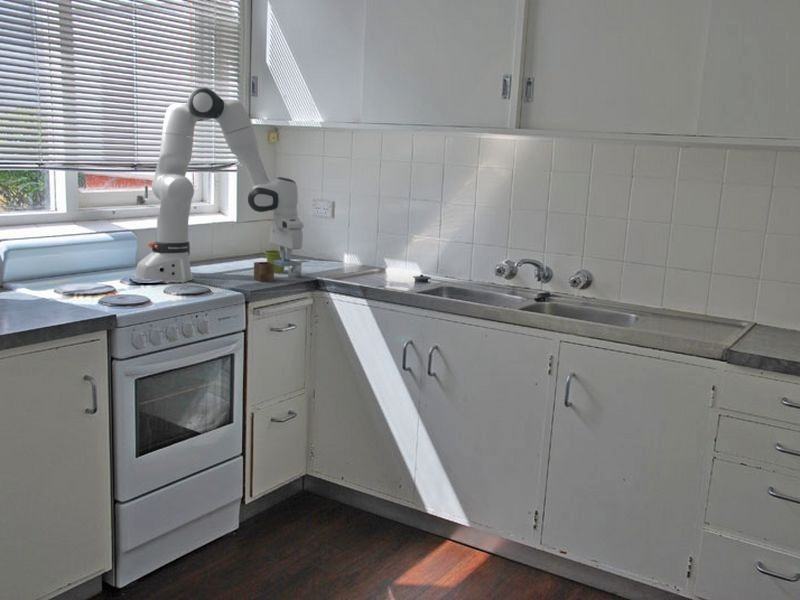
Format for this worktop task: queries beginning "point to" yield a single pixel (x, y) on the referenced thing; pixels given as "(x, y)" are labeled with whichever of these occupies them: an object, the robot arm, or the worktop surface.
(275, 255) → the plant pot
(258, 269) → the canister
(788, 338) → the worktop surface
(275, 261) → the lid
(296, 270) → the tin
